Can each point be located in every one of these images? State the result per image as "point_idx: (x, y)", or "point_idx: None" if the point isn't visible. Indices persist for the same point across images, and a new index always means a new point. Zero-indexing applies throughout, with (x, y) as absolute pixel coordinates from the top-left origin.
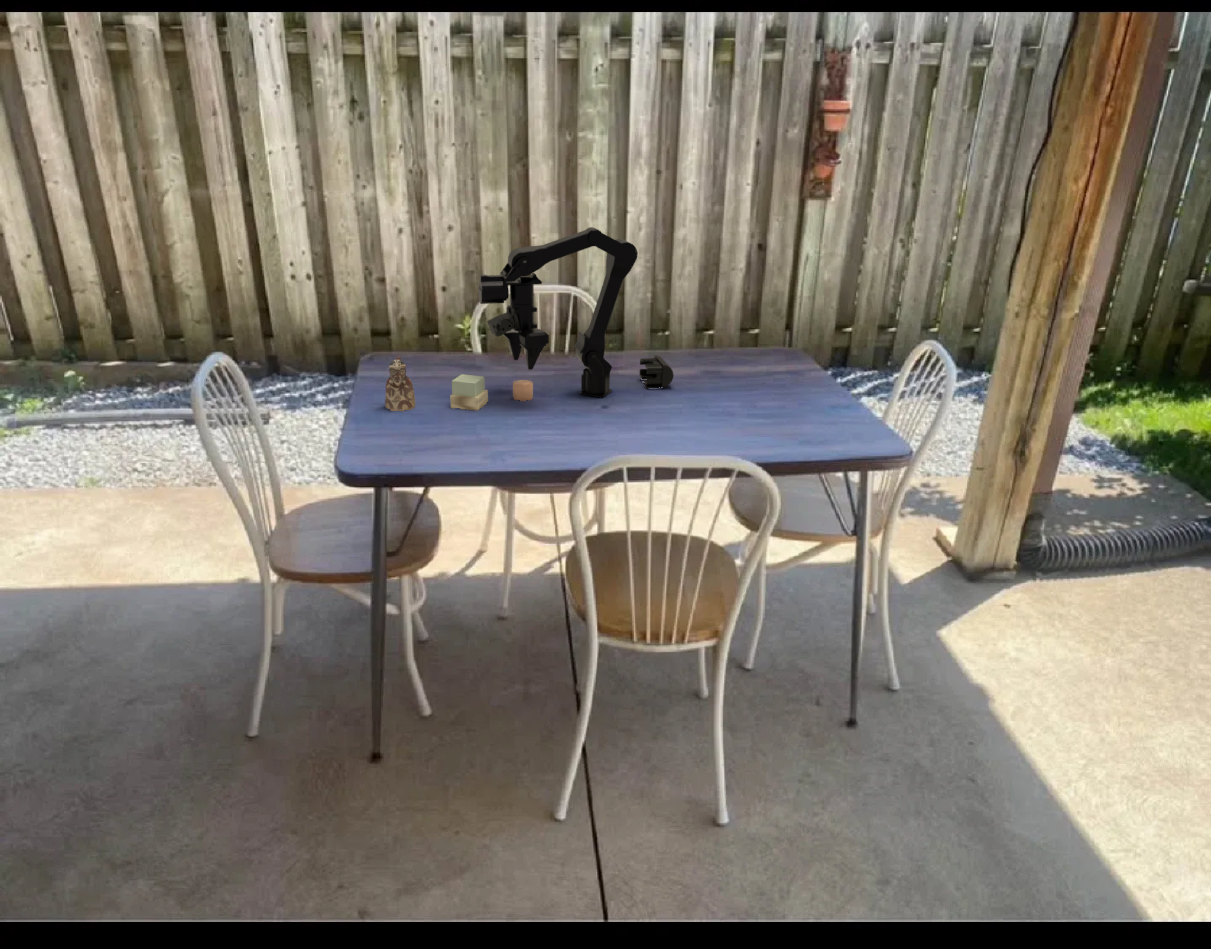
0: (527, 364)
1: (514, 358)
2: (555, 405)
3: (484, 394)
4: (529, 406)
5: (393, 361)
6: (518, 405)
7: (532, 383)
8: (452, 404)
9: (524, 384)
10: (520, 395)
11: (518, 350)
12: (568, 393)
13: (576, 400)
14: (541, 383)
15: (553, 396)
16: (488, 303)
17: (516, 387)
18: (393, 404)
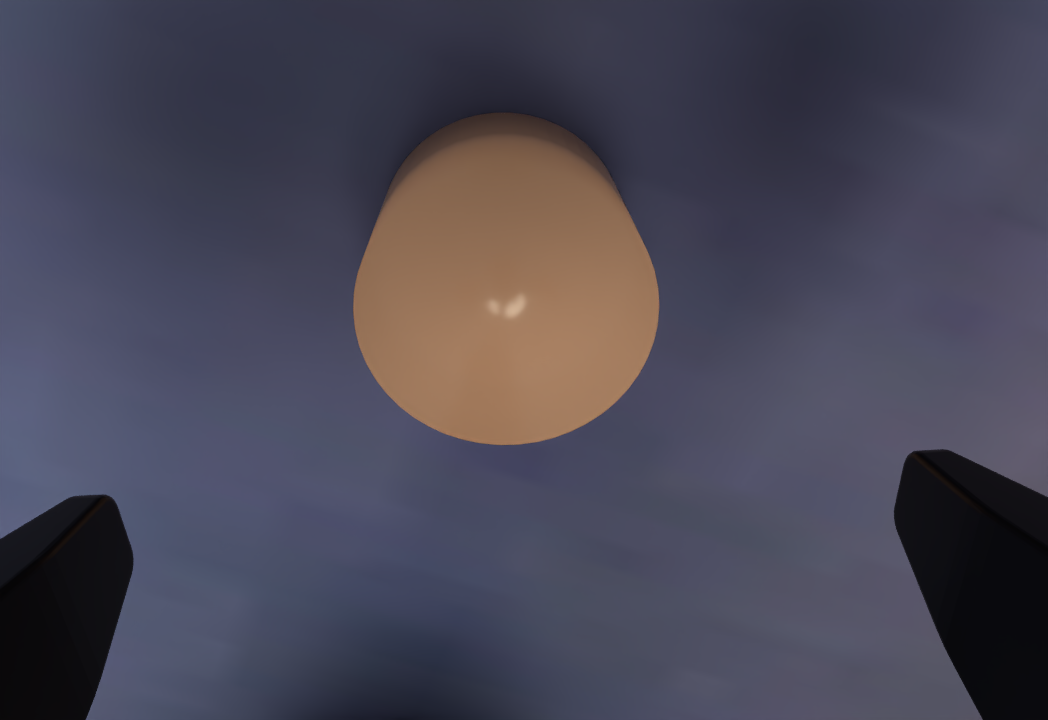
0: (19, 553)
1: (926, 475)
2: (136, 457)
3: None
4: (149, 194)
5: None
6: (217, 75)
7: (431, 426)
8: None
9: (422, 314)
10: (391, 189)
11: (1014, 701)
12: (475, 657)
13: (253, 653)
14: (877, 557)
15: (434, 528)
16: None
17: (426, 178)
18: None
